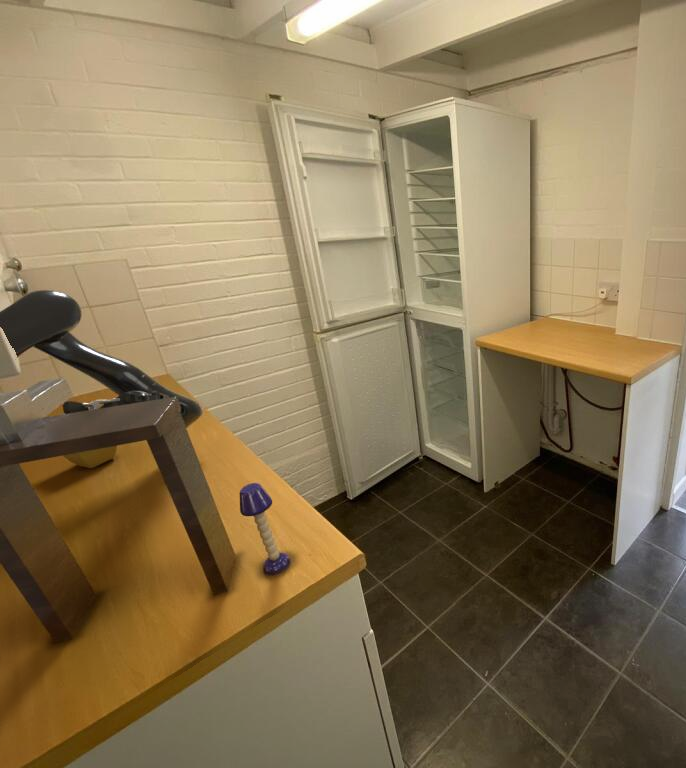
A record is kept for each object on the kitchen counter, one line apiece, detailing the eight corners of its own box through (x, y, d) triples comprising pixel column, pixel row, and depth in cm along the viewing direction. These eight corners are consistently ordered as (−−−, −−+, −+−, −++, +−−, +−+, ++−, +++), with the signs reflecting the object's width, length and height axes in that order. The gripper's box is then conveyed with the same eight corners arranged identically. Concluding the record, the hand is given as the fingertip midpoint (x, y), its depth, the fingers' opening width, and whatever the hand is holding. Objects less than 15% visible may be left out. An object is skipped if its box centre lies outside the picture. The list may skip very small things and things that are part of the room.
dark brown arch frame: (51, 649, 61) (-78, 465, 48) (85, 595, 69) (-18, 426, 56) (226, 596, 68) (155, 424, 56) (237, 553, 77) (177, 396, 64)
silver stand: (-36, 451, 50) (-59, 415, 48) (40, 400, 64) (24, 370, 62) (19, 442, 52) (-1, 406, 50) (81, 394, 66) (67, 364, 64)
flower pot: (64, 469, 104) (47, 437, 100) (105, 450, 112) (90, 421, 108) (86, 474, 101) (70, 443, 98) (127, 455, 109) (113, 425, 105)
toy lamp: (255, 573, 72) (226, 495, 66) (273, 553, 77) (248, 478, 70) (280, 576, 72) (253, 498, 65) (297, 555, 76) (273, 480, 69)
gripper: (99, 400, 87) (42, 389, 72) (181, 387, 92) (144, 375, 77) (104, 435, 86) (48, 432, 71) (186, 421, 91) (150, 414, 76)
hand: (98, 402), depth 74 cm, fingers open, 8 cm apart
